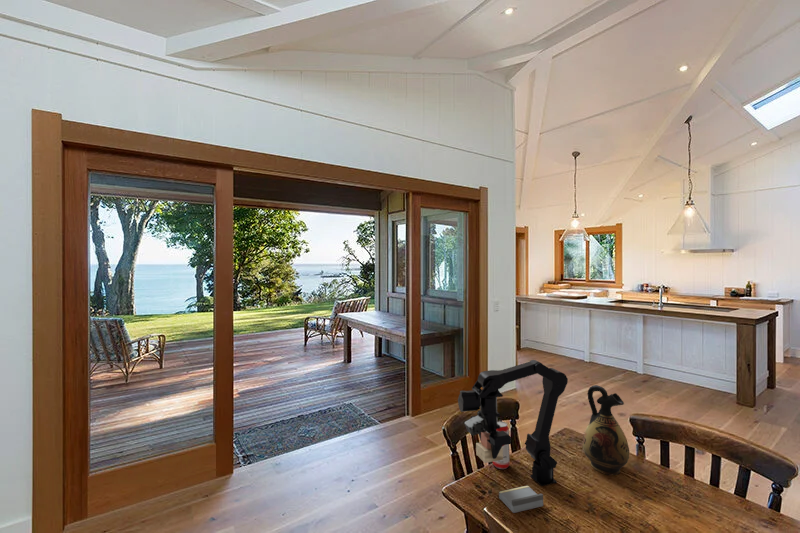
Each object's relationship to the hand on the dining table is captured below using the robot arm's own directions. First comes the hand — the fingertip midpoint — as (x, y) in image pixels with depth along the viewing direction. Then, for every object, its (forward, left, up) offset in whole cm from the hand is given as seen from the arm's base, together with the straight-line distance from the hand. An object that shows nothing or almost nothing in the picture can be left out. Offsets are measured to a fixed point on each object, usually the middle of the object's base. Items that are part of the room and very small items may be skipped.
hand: (489, 454), depth 128 cm
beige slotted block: (0, 0, -1) cm, 1 cm away
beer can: (-11, -10, -11) cm, 18 cm away
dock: (-5, +11, -11) cm, 16 cm away
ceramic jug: (-47, +3, -11) cm, 48 cm away
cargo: (0, 0, +3) cm, 3 cm away
